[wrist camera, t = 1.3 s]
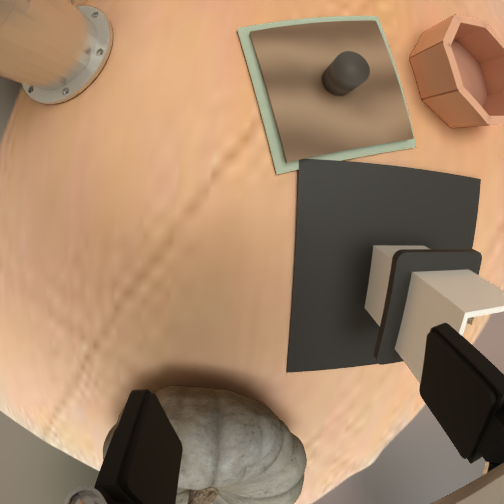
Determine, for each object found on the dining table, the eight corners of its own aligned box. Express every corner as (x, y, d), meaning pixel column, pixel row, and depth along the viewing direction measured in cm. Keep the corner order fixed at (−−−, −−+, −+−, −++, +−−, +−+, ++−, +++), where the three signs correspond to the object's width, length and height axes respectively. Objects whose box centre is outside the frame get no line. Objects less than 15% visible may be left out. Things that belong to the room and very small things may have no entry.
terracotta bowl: (399, 30, 26) (429, 9, 19) (470, 38, 25) (502, 25, 19) (428, 130, 29) (466, 126, 22) (494, 124, 29) (530, 123, 22)
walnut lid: (249, 34, 25) (251, 10, 20) (373, 23, 25) (392, 3, 20) (286, 162, 29) (295, 160, 24) (410, 139, 28) (437, 135, 23)
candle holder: (445, 351, 38) (505, 420, 22) (286, 372, 36) (311, 481, 21) (480, 179, 30) (580, 203, 15) (298, 158, 29) (366, 160, 13)
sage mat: (237, 30, 26) (237, 28, 25) (375, 18, 25) (377, 16, 25) (276, 174, 30) (276, 174, 29) (413, 147, 30) (416, 147, 29)
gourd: (166, 319, 31) (148, 475, 15) (329, 391, 40) (367, 496, 24) (96, 417, 38) (78, 514, 23) (228, 461, 47) (237, 543, 32)
